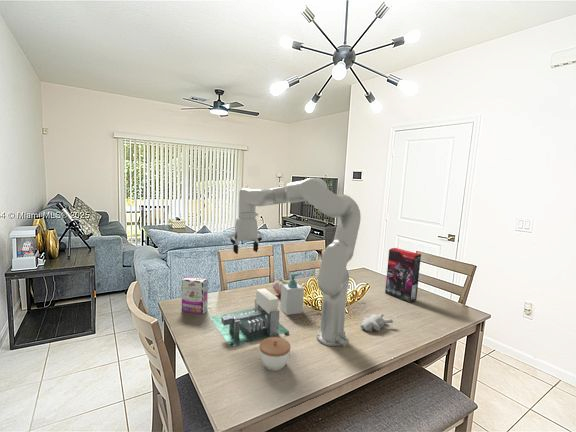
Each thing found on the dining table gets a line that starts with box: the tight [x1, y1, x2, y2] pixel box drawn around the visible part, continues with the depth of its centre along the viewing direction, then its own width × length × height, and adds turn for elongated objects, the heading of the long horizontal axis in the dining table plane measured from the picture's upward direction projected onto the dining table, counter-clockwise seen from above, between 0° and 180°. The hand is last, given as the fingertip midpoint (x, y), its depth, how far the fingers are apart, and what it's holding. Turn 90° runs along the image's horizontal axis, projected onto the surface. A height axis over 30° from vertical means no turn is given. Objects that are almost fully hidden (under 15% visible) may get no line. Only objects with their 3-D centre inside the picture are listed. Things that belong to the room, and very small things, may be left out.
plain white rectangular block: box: [255, 288, 279, 314], centre depth 130 cm, size 12×4×6 cm, turn 31°
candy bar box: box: [181, 276, 209, 315], centre depth 143 cm, size 11×5×16 cm, turn 76°
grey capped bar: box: [221, 310, 267, 326], centre depth 126 cm, size 4×22×2 cm, turn 121°
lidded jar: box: [259, 336, 291, 372], centre depth 106 cm, size 11×11×9 cm
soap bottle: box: [279, 272, 305, 316], centre depth 150 cm, size 9×9×19 cm
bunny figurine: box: [359, 313, 394, 333], centre depth 138 cm, size 10×5×15 cm
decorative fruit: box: [272, 277, 289, 296], centre depth 169 cm, size 9×8×10 cm
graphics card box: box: [384, 247, 422, 303], centre depth 174 cm, size 17×7×27 cm, turn 37°
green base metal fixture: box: [209, 298, 290, 348], centre depth 132 cm, size 27×26×11 cm
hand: (245, 252), depth 140 cm, fingers open, 9 cm apart
